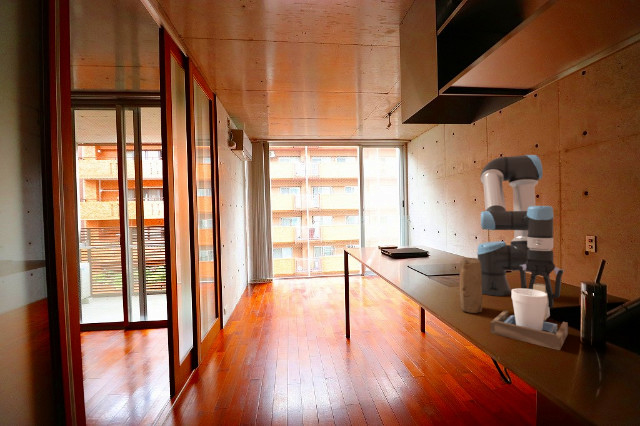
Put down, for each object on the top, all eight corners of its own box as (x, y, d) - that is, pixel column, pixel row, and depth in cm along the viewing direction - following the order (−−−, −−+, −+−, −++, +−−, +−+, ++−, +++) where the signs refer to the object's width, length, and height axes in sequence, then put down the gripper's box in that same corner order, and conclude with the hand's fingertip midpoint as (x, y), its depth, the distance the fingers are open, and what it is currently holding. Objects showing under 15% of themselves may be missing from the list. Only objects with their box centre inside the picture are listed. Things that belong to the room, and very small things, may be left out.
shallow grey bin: (504, 319, 109) (504, 308, 109) (567, 333, 97) (567, 321, 97) (490, 332, 98) (490, 320, 98) (559, 350, 86) (559, 336, 86)
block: (483, 315, 114) (482, 261, 114) (460, 313, 117) (460, 260, 117) (479, 306, 124) (479, 256, 124) (459, 304, 127) (458, 256, 127)
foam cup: (548, 342, 91) (548, 298, 91) (511, 335, 96) (511, 294, 96) (545, 330, 99) (545, 290, 99) (511, 325, 104) (511, 287, 104)
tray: (520, 312, 116) (520, 280, 115) (563, 321, 107) (563, 286, 106) (500, 332, 98) (500, 295, 98) (549, 345, 89) (549, 303, 89)
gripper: (510, 248, 113) (510, 312, 113) (568, 252, 101) (568, 323, 101) (515, 246, 118) (516, 307, 118) (571, 250, 106) (571, 317, 107)
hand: (540, 314), depth 110 cm, fingers closed on tray, 3 cm apart
